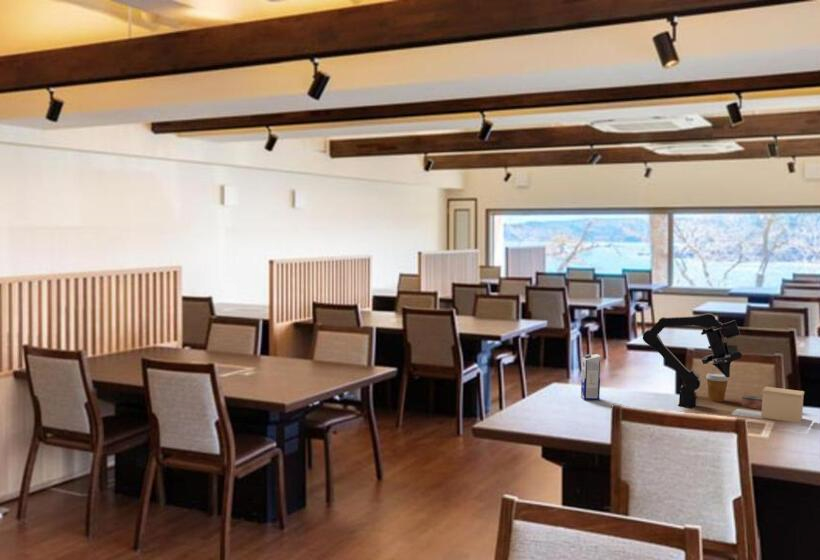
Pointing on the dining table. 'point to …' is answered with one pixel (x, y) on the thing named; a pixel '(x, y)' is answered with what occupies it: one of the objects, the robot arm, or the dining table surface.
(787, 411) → the kraft carton
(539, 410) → the dining table surface
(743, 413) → the board
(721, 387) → the disposable coffee cup
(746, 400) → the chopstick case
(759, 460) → the dining table surface
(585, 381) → the milk carton
